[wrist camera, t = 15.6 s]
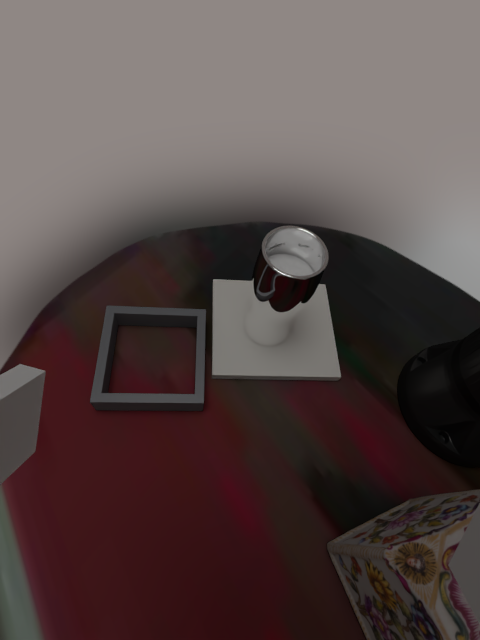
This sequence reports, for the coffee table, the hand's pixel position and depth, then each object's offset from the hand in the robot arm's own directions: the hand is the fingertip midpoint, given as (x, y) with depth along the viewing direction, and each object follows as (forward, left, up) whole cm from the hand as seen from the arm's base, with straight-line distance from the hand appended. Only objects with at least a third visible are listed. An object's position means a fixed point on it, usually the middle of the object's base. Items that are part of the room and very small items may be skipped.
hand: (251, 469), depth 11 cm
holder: (+7, -17, -32) cm, 36 cm away
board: (-8, -22, -32) cm, 39 cm away
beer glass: (-7, -22, -31) cm, 38 cm away
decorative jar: (-19, +6, -32) cm, 38 cm away
